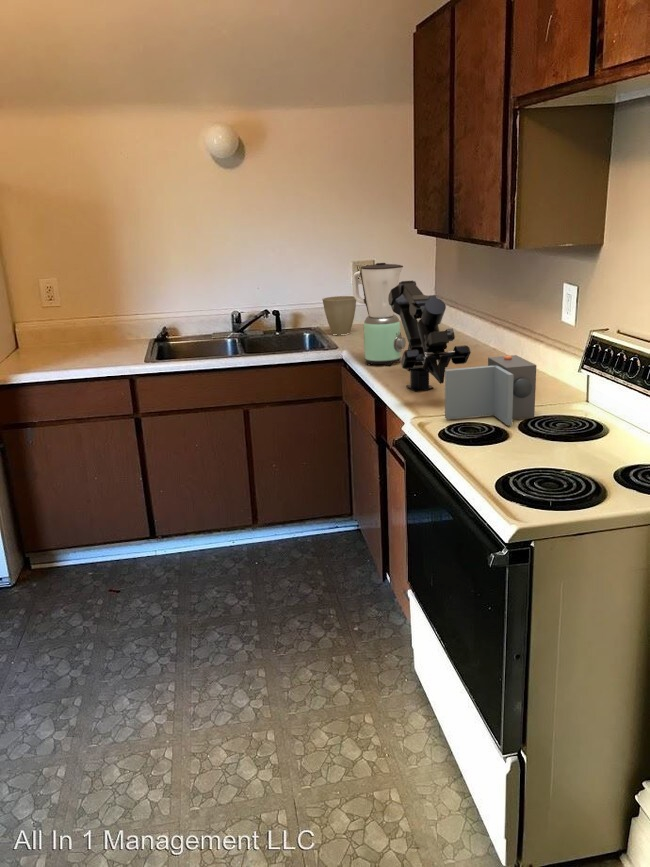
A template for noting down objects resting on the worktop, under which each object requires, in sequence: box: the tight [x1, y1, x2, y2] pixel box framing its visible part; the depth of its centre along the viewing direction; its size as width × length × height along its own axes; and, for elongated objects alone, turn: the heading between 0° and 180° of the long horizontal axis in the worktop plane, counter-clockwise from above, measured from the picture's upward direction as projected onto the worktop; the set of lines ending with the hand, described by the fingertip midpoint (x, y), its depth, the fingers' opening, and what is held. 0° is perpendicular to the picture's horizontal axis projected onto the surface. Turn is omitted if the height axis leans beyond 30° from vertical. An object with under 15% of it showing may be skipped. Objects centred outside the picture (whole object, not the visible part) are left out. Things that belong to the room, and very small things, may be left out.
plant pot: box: [322, 295, 357, 335], centre depth 313 cm, size 15×15×16 cm
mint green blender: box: [352, 262, 407, 367], centre depth 252 cm, size 19×13×35 cm
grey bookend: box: [444, 365, 514, 426], centre depth 182 cm, size 12×14×13 cm
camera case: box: [487, 354, 537, 421], centre depth 189 cm, size 14×8×15 cm, turn 8°
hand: (441, 382), depth 197 cm, fingers closed
